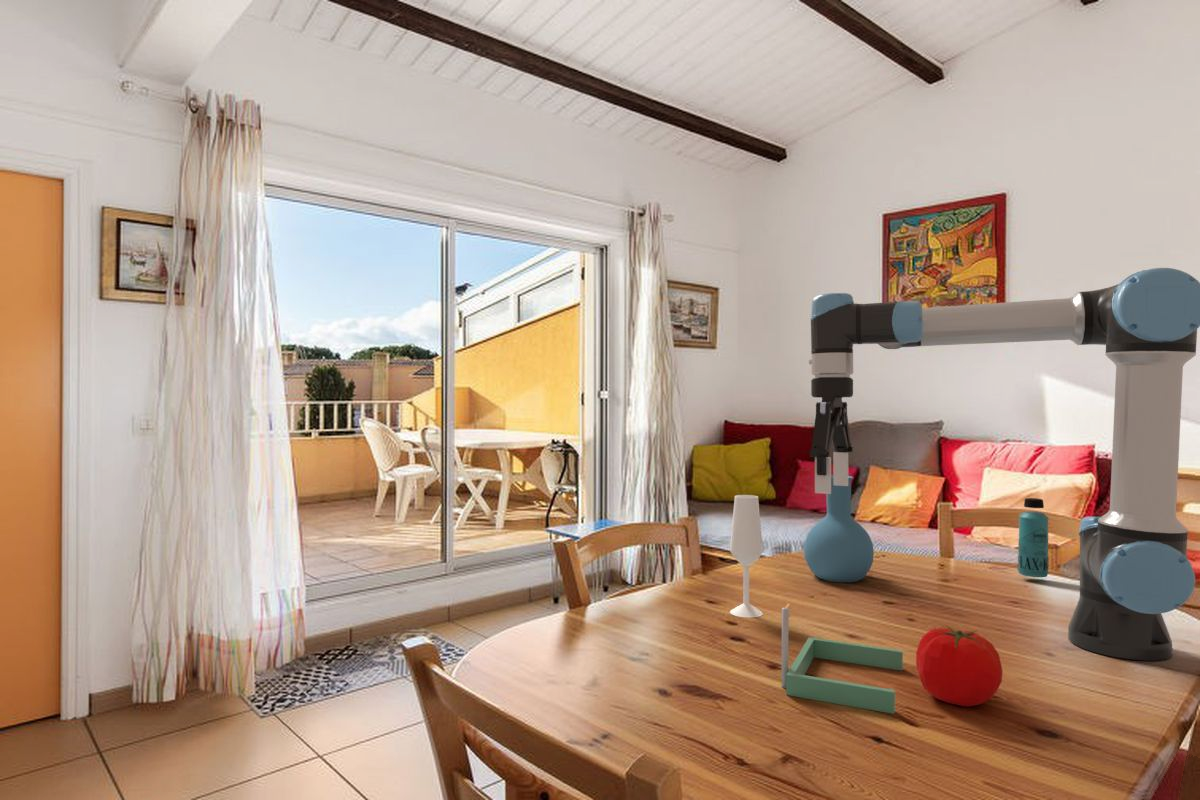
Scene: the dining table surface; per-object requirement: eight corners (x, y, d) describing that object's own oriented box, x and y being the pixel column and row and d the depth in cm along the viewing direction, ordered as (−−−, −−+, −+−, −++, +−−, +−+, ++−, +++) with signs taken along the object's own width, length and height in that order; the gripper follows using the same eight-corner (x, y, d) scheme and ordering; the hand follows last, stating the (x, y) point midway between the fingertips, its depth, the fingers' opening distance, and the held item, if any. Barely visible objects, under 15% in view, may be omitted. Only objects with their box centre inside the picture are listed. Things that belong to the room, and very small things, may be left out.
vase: (880, 575, 182) (880, 475, 182) (866, 589, 168) (866, 481, 168) (814, 567, 191) (814, 471, 191) (795, 580, 177) (795, 477, 177)
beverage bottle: (1011, 578, 179) (1011, 497, 179) (1032, 576, 181) (1032, 496, 181) (1034, 584, 173) (1034, 500, 173) (1055, 582, 175) (1055, 499, 175)
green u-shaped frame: (902, 668, 119) (903, 595, 119) (894, 713, 102) (894, 628, 102) (801, 653, 126) (801, 584, 126) (777, 693, 109) (777, 613, 109)
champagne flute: (728, 616, 148) (728, 498, 148) (730, 607, 154) (730, 493, 154) (762, 618, 146) (762, 499, 146) (763, 609, 153) (763, 494, 153)
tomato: (896, 689, 111) (897, 622, 111) (954, 679, 115) (954, 614, 115) (961, 722, 100) (961, 647, 100) (1022, 709, 104) (1022, 637, 104)
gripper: (828, 378, 150) (828, 481, 150) (792, 375, 128) (793, 495, 129) (866, 377, 146) (866, 483, 146) (836, 374, 125) (836, 498, 125)
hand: (832, 489), depth 137 cm, fingers open, 13 cm apart
